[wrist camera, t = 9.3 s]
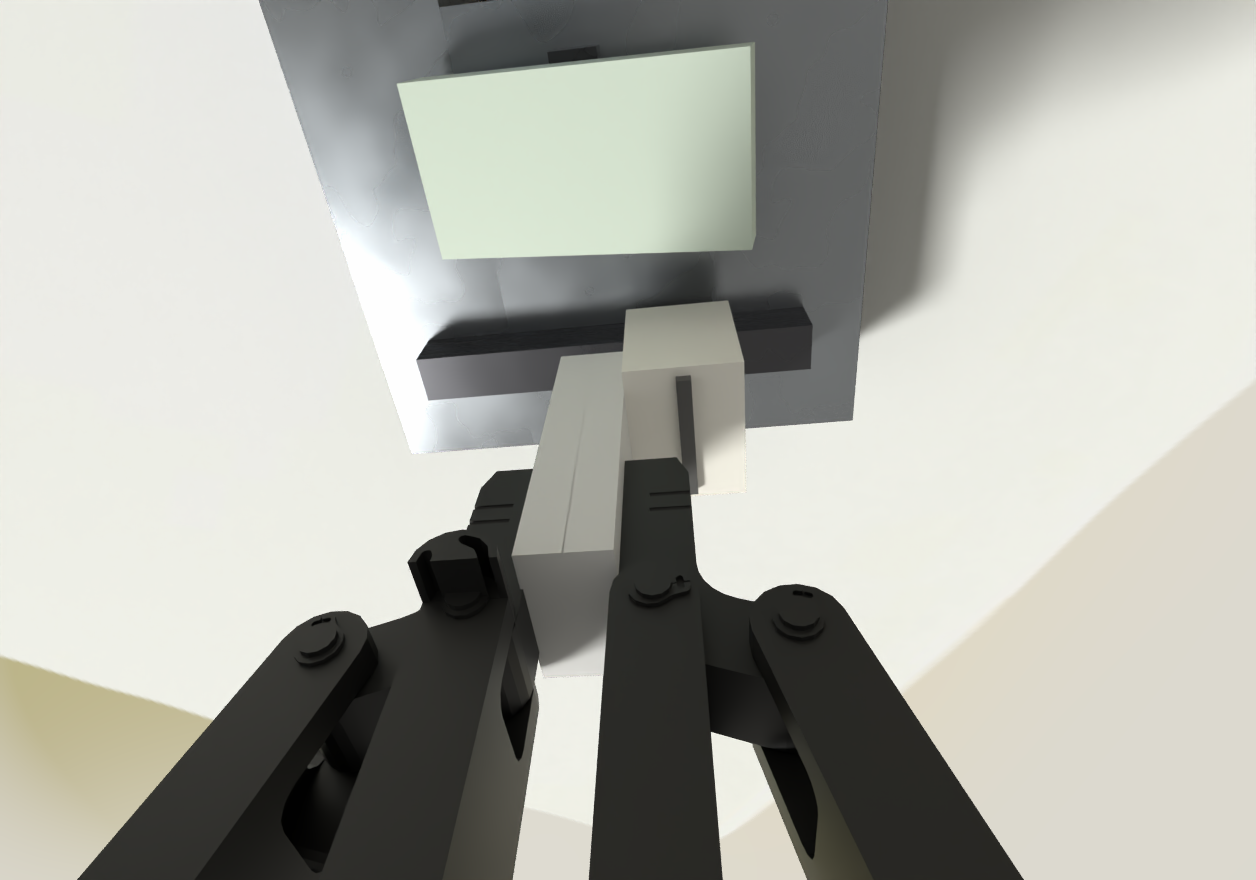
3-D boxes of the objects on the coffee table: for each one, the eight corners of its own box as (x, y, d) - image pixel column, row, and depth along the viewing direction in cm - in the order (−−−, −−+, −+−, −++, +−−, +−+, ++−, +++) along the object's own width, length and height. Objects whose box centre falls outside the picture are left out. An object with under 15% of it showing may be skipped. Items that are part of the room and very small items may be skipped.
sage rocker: (420, 77, 14) (396, 83, 14) (755, 41, 13) (750, 46, 12) (461, 245, 16) (442, 259, 16) (755, 234, 15) (752, 249, 14)
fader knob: (625, 309, 16) (620, 376, 13) (728, 300, 16) (745, 366, 13) (639, 424, 18) (637, 505, 15) (731, 417, 18) (747, 498, 15)
